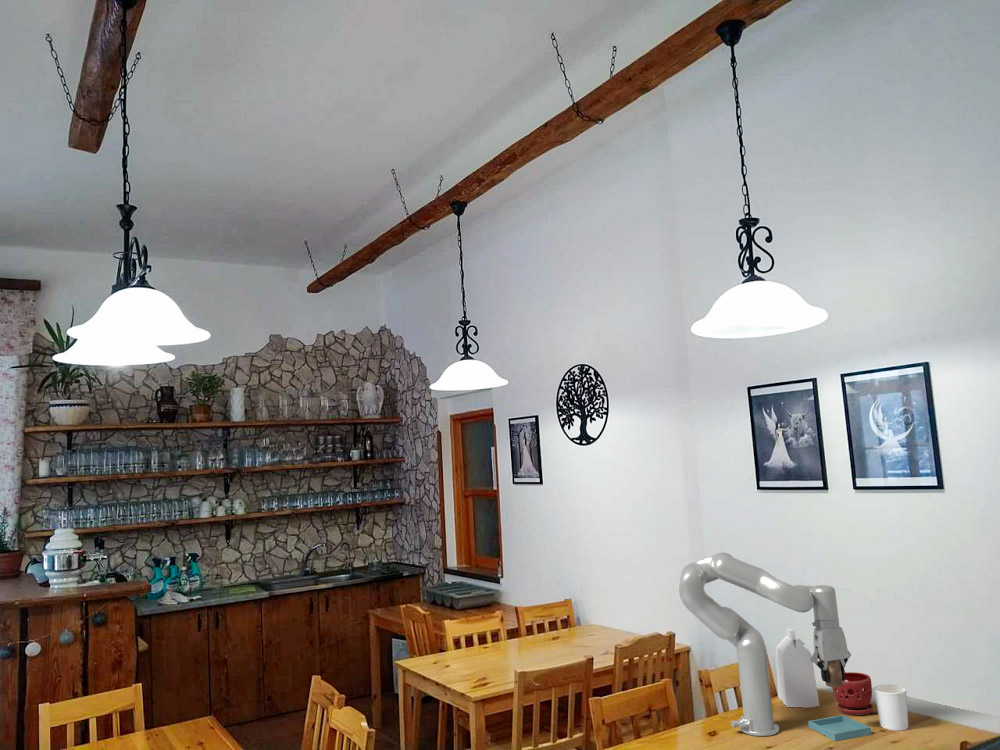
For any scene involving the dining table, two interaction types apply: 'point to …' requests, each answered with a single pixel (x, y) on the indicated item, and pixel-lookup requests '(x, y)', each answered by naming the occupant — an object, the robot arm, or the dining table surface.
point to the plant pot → (854, 694)
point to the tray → (839, 727)
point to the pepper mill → (834, 674)
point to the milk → (795, 673)
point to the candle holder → (892, 707)
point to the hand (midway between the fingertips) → (833, 679)
